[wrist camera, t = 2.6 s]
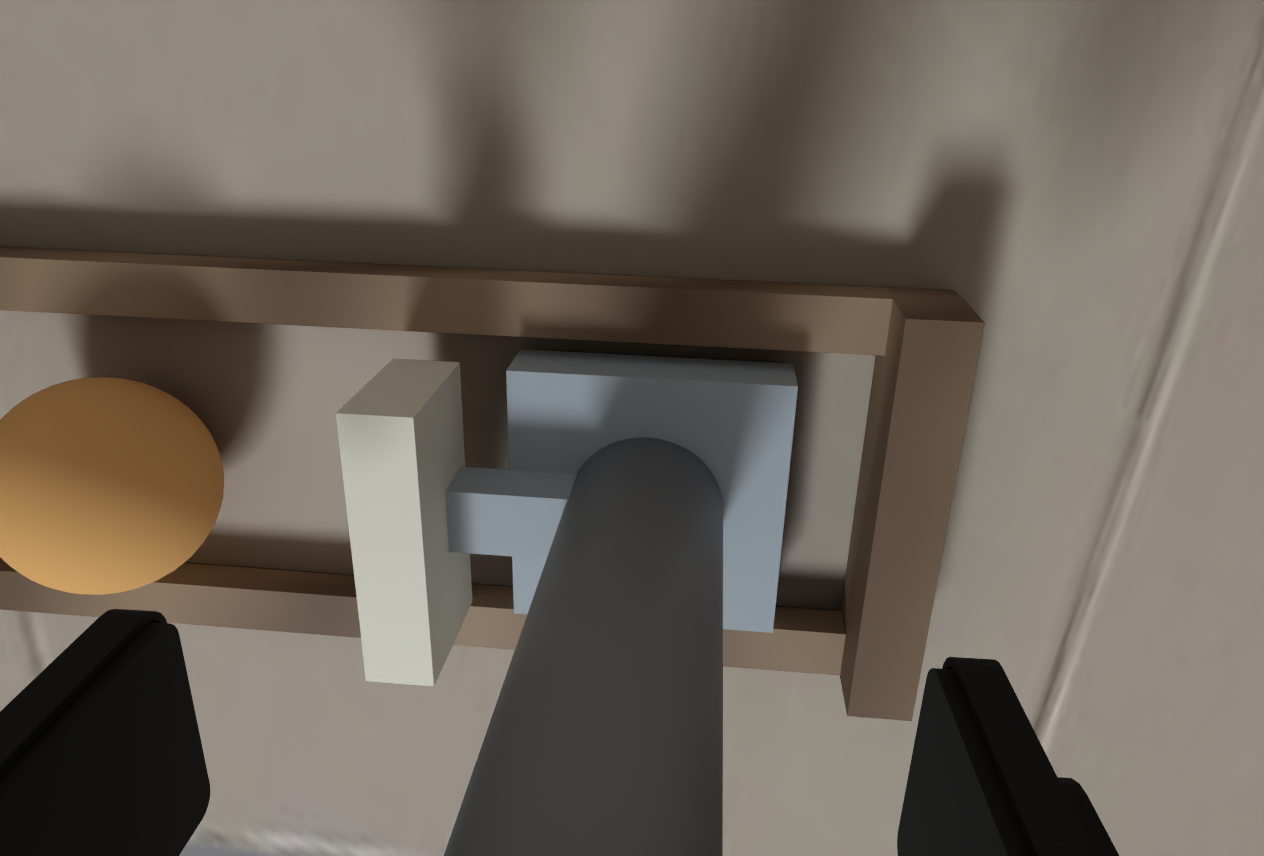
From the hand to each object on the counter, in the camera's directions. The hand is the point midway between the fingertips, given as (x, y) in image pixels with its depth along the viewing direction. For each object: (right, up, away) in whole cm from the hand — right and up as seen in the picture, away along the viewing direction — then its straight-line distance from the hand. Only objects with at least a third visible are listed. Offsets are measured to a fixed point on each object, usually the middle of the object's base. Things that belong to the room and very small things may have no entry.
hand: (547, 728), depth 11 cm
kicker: (0, +3, +6) cm, 7 cm away
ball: (-9, +3, +5) cm, 11 cm away
